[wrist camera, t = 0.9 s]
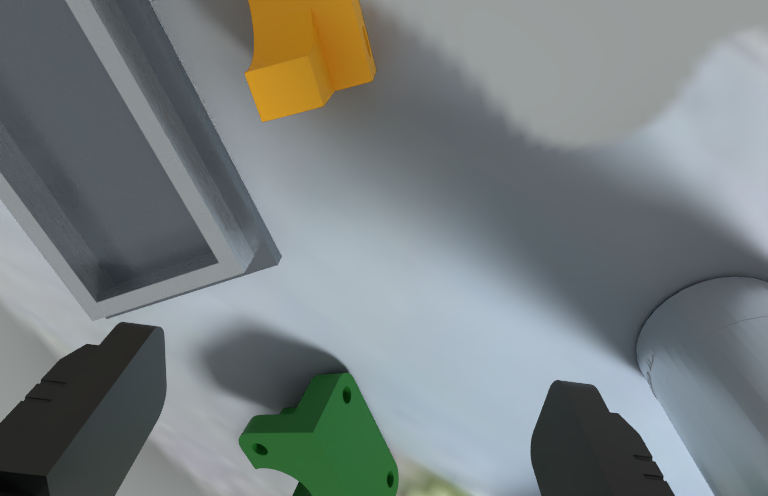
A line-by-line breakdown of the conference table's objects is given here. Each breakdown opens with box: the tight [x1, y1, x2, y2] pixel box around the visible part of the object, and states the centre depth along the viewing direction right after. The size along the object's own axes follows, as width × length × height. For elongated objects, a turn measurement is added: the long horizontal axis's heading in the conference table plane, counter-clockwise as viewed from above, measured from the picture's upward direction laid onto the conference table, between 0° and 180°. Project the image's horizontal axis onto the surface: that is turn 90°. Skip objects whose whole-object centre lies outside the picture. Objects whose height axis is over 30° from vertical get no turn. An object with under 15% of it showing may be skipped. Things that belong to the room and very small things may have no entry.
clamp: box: [239, 373, 398, 496], centre depth 34 cm, size 12×6×9 cm, turn 13°
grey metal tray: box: [0, 0, 282, 321], centre depth 26 cm, size 12×20×3 cm, turn 21°
